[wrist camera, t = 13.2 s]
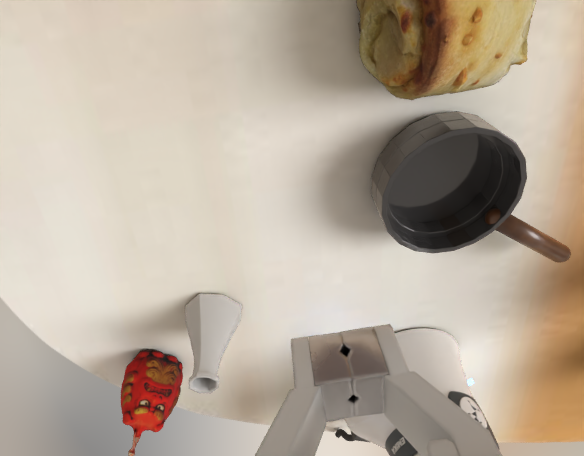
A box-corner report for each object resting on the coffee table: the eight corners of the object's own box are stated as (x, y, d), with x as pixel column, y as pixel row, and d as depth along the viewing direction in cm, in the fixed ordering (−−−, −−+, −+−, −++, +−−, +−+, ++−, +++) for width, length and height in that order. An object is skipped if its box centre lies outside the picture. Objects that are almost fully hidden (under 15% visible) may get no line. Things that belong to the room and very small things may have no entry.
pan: (437, 243, 43) (454, 269, 39) (345, 198, 38) (354, 223, 35) (527, 149, 36) (557, 170, 33) (429, 83, 32) (451, 98, 28)
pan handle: (566, 244, 41) (579, 255, 39) (551, 256, 42) (563, 268, 40) (491, 201, 37) (502, 212, 35) (476, 216, 38) (486, 227, 36)
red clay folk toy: (193, 357, 52) (172, 478, 39) (173, 383, 55) (148, 502, 43) (139, 340, 49) (98, 465, 37) (121, 369, 52) (78, 492, 40)
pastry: (315, -8, 28) (331, 1, 21) (470, -155, 24) (551, -201, 17) (406, 131, 34) (440, 170, 28) (538, 35, 30) (614, 54, 24)
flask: (176, 322, 47) (159, 396, 39) (195, 284, 44) (180, 357, 36) (230, 336, 50) (224, 408, 41) (251, 301, 46) (249, 373, 38)
